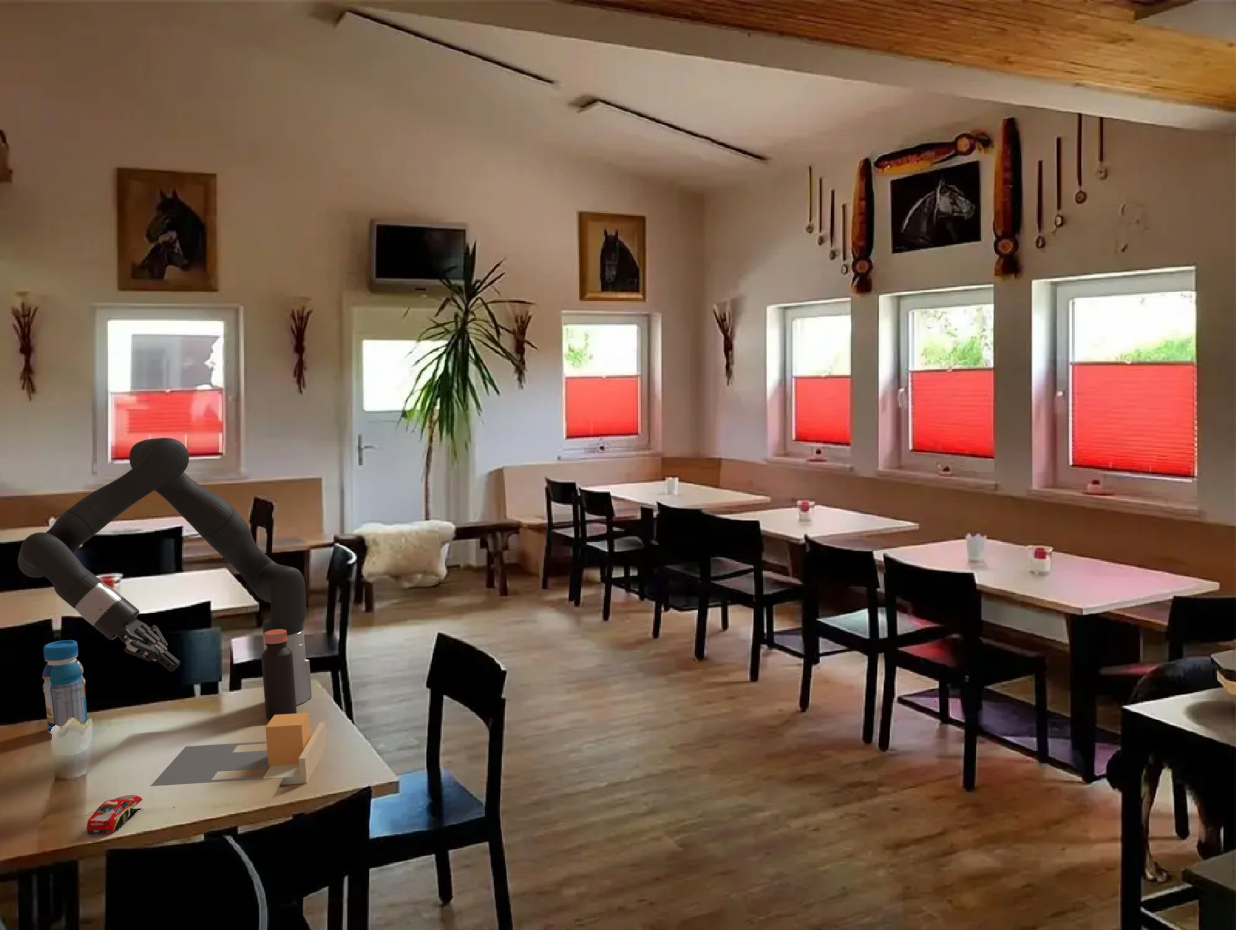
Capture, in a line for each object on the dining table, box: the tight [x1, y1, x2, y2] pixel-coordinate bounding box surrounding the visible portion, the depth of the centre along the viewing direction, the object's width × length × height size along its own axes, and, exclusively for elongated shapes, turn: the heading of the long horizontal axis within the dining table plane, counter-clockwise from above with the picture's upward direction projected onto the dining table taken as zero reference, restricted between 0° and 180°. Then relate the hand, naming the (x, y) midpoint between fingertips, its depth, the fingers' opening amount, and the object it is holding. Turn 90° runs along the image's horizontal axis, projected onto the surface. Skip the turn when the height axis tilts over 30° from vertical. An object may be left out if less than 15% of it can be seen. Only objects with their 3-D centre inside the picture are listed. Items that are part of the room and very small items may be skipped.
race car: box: [86, 794, 143, 835], centre depth 184 cm, size 13×5×4 cm, turn 178°
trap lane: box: [150, 721, 328, 787], centre depth 206 cm, size 29×20×5 cm
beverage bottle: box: [41, 639, 89, 734], centre depth 231 cm, size 8×8×20 cm
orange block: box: [265, 712, 312, 766], centre depth 206 cm, size 7×7×8 cm
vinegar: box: [261, 629, 298, 721], centre depth 235 cm, size 7×7×20 cm
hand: (176, 667), depth 203 cm, fingers closed
